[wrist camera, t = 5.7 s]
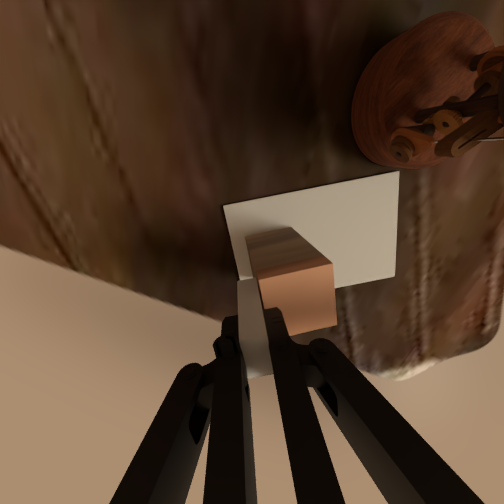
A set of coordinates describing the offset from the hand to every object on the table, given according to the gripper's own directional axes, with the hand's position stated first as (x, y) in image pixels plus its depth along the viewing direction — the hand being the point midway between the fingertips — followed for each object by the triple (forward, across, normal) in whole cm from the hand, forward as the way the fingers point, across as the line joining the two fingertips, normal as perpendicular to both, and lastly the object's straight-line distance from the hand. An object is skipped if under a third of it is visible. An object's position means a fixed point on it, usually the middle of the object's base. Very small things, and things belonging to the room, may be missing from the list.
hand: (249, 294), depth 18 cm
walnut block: (+8, +3, 0) cm, 8 cm away
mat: (+8, +8, 0) cm, 11 cm away
